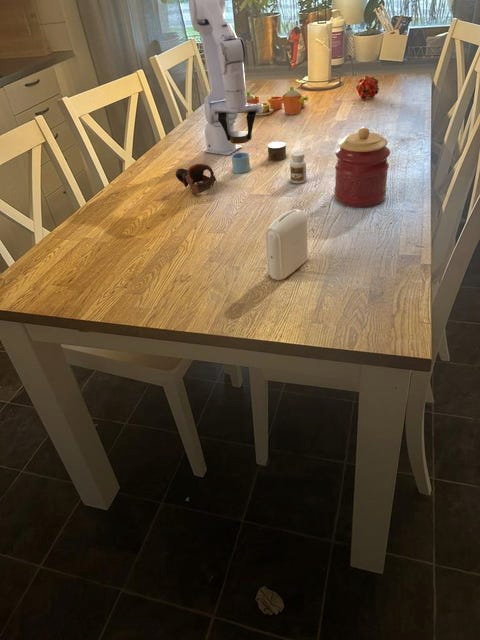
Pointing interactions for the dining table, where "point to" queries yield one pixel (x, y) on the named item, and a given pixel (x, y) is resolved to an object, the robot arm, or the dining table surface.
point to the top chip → (239, 137)
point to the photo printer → (287, 244)
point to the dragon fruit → (367, 87)
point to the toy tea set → (280, 102)
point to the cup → (240, 162)
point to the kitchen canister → (361, 169)
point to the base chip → (277, 156)
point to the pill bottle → (298, 168)
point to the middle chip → (276, 148)
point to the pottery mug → (196, 178)
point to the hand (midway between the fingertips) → (239, 139)
